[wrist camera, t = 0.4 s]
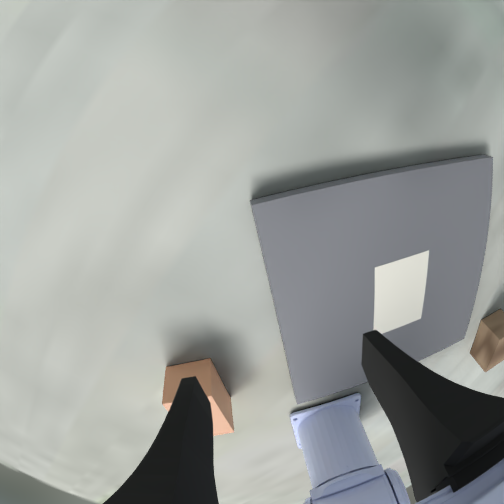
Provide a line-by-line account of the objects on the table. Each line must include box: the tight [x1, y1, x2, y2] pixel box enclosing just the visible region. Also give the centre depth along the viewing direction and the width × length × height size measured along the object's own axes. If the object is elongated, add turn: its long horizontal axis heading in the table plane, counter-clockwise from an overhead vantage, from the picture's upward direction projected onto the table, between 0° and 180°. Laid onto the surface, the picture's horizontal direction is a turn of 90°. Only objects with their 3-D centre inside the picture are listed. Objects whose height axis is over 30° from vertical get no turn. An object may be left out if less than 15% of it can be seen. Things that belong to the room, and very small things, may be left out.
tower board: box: [250, 155, 493, 404], centre depth 22 cm, size 20×20×1 cm
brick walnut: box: [470, 309, 504, 372], centre depth 27 cm, size 6×4×4 cm, turn 12°
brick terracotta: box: [162, 358, 234, 436], centre depth 23 cm, size 6×4×4 cm, turn 13°
